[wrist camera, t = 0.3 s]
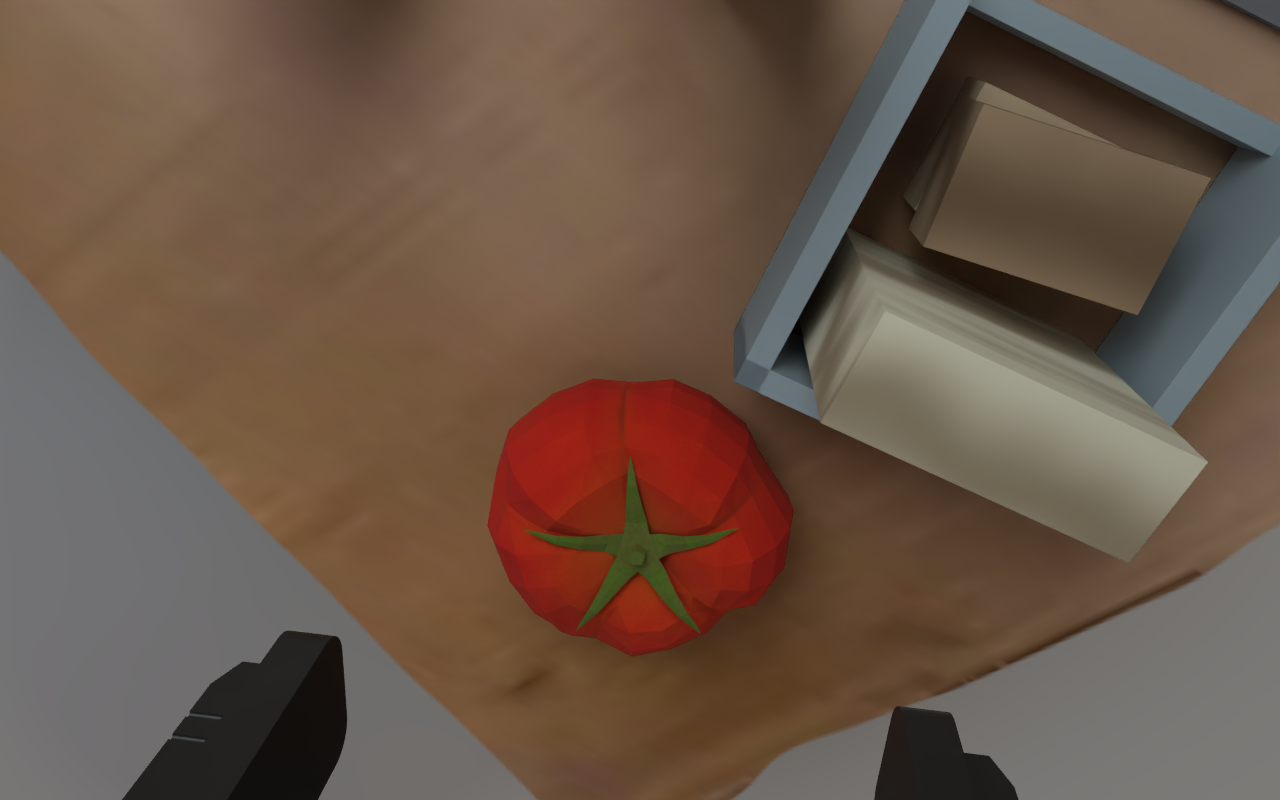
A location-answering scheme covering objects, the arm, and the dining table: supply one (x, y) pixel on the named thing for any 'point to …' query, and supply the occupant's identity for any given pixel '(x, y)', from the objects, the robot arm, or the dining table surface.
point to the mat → (1259, 10)
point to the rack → (1137, 344)
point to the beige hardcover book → (988, 399)
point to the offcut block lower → (992, 97)
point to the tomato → (637, 513)
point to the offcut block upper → (1054, 206)
